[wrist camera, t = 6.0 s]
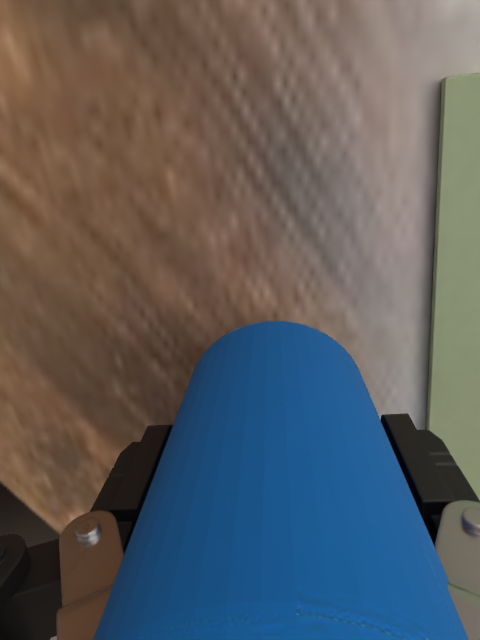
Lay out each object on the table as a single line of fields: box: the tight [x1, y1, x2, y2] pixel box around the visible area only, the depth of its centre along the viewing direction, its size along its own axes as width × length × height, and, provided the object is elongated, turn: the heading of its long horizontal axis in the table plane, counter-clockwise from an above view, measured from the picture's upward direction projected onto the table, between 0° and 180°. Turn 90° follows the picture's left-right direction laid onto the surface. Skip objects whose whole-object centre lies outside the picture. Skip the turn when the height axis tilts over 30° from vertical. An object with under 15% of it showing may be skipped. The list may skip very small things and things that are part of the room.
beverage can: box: [93, 321, 469, 640], centre depth 11 cm, size 6×6×12 cm
